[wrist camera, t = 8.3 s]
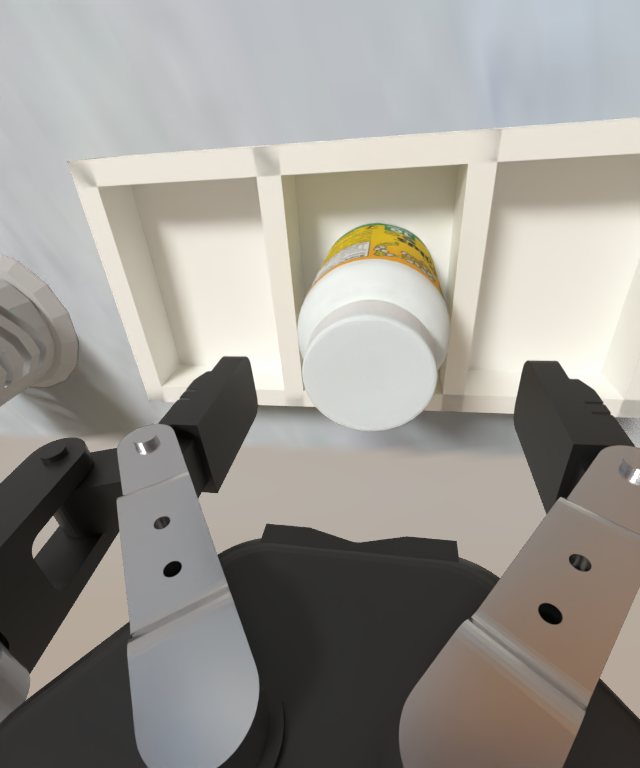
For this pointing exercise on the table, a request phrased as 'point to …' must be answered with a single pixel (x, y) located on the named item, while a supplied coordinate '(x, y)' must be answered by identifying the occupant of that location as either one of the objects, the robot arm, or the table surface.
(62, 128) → the table surface
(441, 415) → the table surface
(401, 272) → the supplement bottle
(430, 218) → the rack
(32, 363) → the french press
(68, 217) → the table surface
